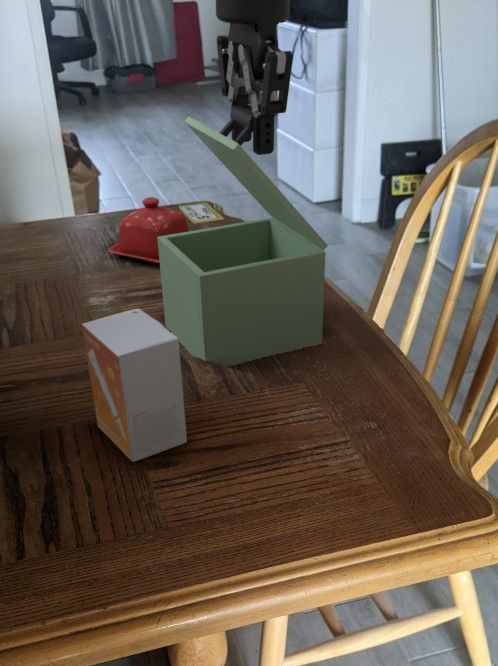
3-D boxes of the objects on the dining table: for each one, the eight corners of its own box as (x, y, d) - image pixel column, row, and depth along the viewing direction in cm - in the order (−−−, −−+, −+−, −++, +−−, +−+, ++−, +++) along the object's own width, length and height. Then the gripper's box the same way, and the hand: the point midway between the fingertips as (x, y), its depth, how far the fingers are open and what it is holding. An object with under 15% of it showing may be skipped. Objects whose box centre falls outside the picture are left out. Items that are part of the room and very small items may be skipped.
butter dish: (104, 258, 121) (96, 202, 116) (148, 235, 129) (143, 182, 124) (164, 271, 117) (159, 214, 112) (206, 247, 125) (203, 193, 120)
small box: (98, 437, 81) (79, 322, 74) (152, 418, 84) (139, 306, 76) (133, 475, 76) (117, 355, 68) (190, 453, 79) (180, 336, 71)
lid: (233, 149, 79) (267, 109, 78) (184, 121, 89) (213, 85, 88) (323, 251, 91) (354, 216, 90) (270, 215, 100) (298, 184, 100)
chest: (205, 372, 92) (199, 276, 85) (165, 326, 102) (157, 236, 95) (322, 344, 98) (325, 252, 91) (273, 303, 108) (273, 217, 101)
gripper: (190, -39, 81) (197, 136, 91) (249, -29, 71) (249, 167, 81) (256, -39, 84) (255, 130, 94) (321, -30, 73) (312, 159, 83)
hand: (252, 146), depth 87 cm, fingers closed on lid, 5 cm apart
